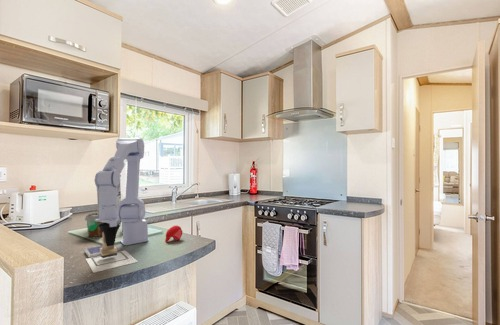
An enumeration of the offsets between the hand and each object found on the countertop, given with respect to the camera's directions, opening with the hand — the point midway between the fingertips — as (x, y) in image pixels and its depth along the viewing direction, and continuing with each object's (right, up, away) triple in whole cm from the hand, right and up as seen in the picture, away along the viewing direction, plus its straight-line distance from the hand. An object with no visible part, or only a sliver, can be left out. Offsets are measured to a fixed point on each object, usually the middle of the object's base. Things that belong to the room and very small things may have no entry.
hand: (109, 244), depth 94 cm
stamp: (0, -4, 0) cm, 4 cm away
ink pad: (-7, -5, +8) cm, 12 cm away
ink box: (-13, -6, +44) cm, 46 cm away
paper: (+1, -5, -2) cm, 5 cm away
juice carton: (-28, -6, +55) cm, 62 cm away
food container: (-24, -6, +33) cm, 41 cm away
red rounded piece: (+16, -5, +22) cm, 28 cm away
